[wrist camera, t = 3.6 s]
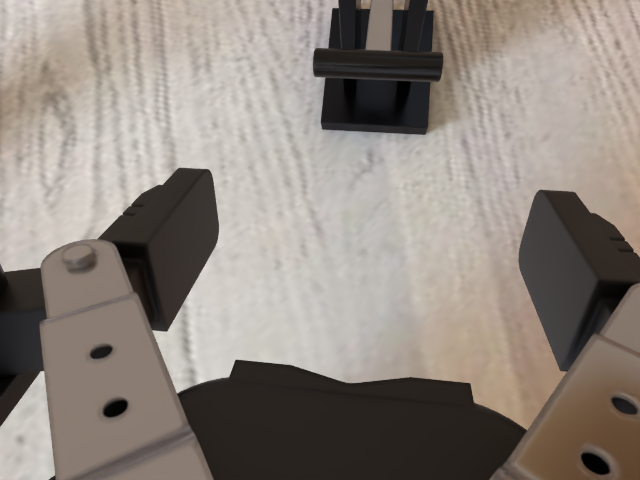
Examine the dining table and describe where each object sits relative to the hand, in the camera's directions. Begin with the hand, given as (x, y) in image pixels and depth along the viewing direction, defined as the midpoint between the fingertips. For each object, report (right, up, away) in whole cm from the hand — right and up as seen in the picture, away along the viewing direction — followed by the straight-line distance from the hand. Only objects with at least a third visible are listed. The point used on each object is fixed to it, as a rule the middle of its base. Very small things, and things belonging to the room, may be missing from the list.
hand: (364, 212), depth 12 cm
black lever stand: (+3, +12, +25) cm, 28 cm away
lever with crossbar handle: (+2, +10, +13) cm, 17 cm away
